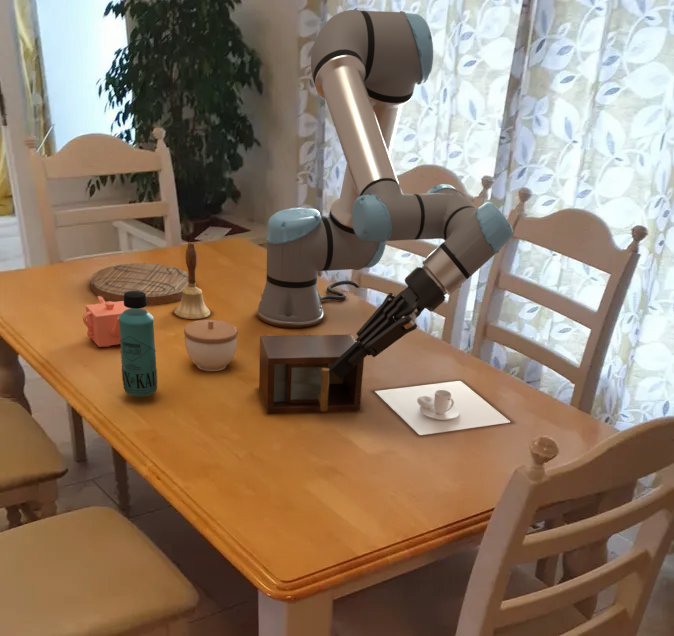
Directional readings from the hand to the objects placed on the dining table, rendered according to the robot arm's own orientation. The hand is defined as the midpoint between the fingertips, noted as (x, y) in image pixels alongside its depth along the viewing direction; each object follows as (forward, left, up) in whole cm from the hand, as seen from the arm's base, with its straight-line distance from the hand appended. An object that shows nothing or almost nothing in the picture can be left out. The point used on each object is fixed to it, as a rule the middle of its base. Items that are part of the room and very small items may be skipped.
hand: (335, 372), depth 166 cm
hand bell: (-10, -60, -9) cm, 61 cm away
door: (+3, -4, -8) cm, 9 cm away
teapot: (+14, -55, -9) cm, 58 cm away
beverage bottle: (+24, -28, -9) cm, 38 cm away
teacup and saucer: (-22, +8, -9) cm, 25 cm away
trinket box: (+4, -33, -9) cm, 35 cm away
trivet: (-10, -81, -9) cm, 82 cm away
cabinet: (-2, -9, -9) cm, 13 cm away
